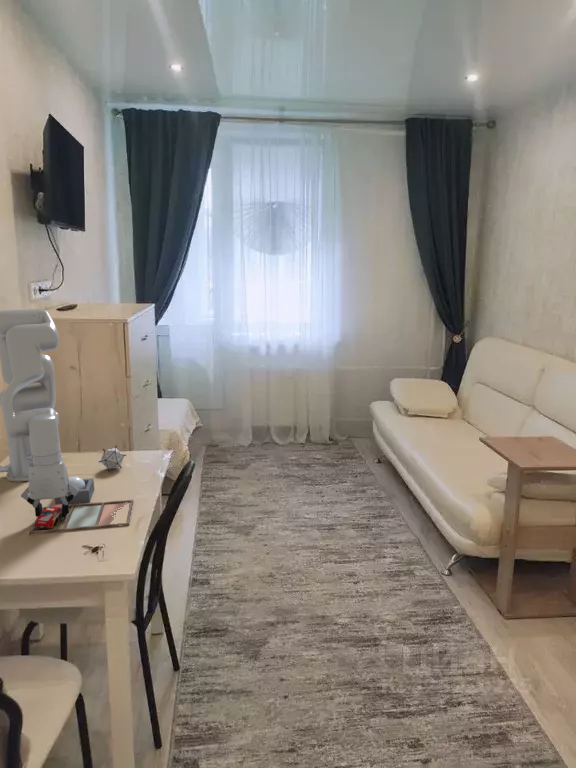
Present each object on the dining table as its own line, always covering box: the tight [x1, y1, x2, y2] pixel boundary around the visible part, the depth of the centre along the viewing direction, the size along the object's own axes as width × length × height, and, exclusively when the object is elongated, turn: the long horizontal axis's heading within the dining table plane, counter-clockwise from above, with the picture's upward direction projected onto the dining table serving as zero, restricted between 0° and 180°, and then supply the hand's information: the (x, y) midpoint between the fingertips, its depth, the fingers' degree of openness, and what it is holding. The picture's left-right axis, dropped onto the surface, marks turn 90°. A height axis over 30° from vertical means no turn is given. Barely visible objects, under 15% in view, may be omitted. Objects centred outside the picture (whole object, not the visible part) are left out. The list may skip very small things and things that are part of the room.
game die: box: [98, 445, 127, 473], centre depth 195 cm, size 9×8×10 cm
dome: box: [68, 476, 85, 490], centre depth 172 cm, size 6×6×6 cm
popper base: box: [54, 477, 95, 505], centre depth 172 cm, size 10×10×4 cm
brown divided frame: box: [28, 499, 134, 535], centre depth 159 cm, size 26×16×1 cm, turn 101°
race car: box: [35, 504, 64, 530], centre depth 157 cm, size 13×5×4 cm, turn 176°
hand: (53, 516), depth 157 cm, fingers closed on race car, 6 cm apart
